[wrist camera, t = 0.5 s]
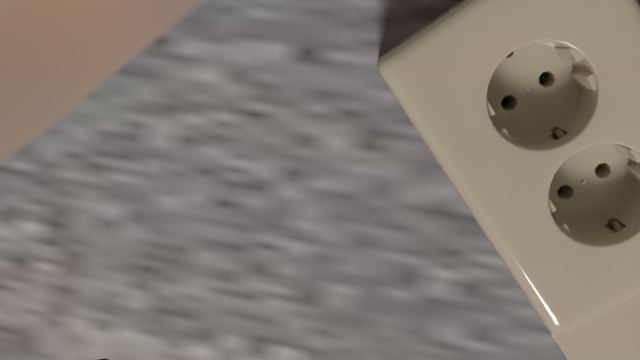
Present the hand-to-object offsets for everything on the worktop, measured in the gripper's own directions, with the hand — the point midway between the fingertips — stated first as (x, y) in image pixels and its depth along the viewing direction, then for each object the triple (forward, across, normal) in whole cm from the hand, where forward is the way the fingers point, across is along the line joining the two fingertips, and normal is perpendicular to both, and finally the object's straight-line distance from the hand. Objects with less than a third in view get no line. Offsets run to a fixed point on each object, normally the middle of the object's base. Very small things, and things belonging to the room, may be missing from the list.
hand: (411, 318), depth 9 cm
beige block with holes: (+11, -9, +8) cm, 16 cm away
